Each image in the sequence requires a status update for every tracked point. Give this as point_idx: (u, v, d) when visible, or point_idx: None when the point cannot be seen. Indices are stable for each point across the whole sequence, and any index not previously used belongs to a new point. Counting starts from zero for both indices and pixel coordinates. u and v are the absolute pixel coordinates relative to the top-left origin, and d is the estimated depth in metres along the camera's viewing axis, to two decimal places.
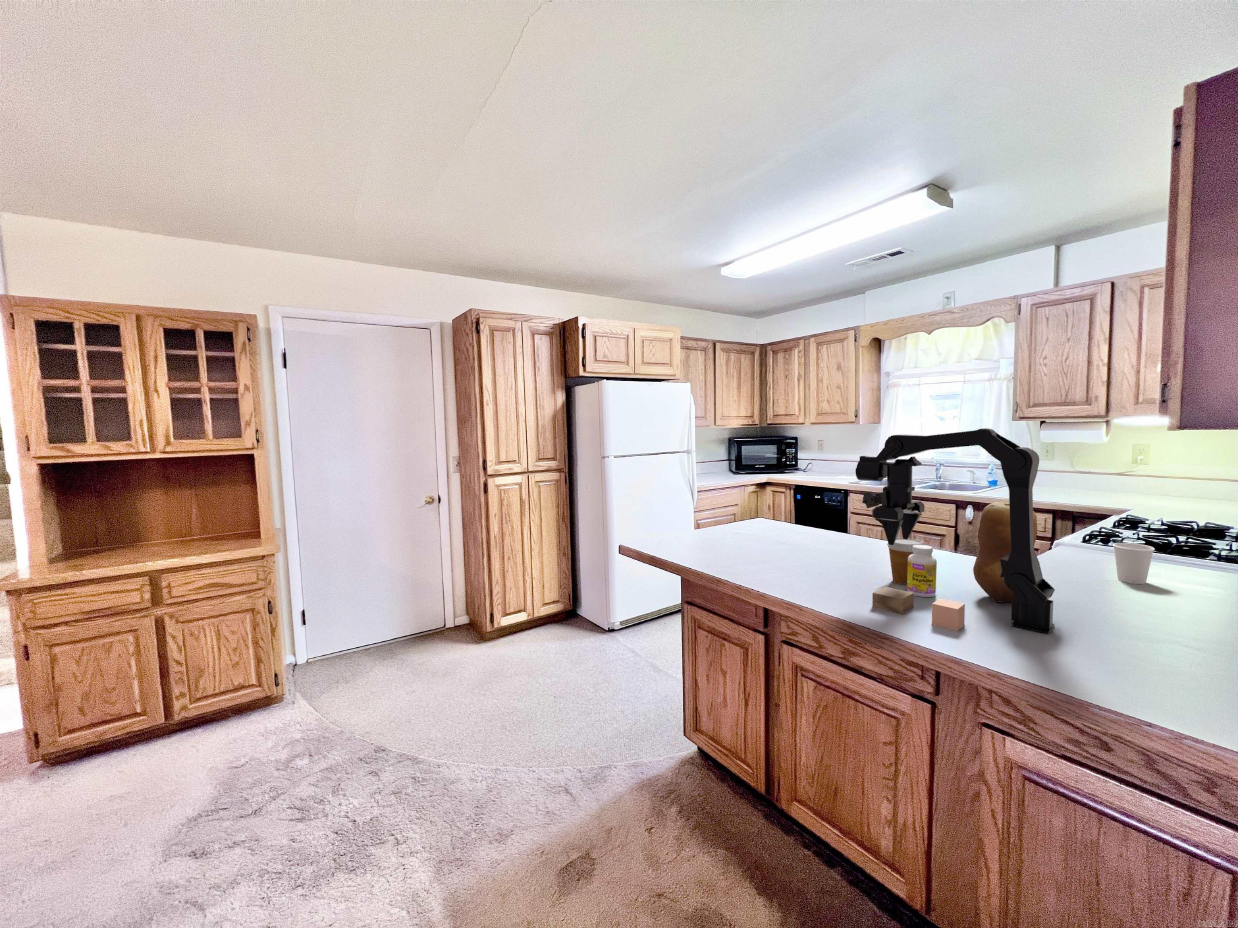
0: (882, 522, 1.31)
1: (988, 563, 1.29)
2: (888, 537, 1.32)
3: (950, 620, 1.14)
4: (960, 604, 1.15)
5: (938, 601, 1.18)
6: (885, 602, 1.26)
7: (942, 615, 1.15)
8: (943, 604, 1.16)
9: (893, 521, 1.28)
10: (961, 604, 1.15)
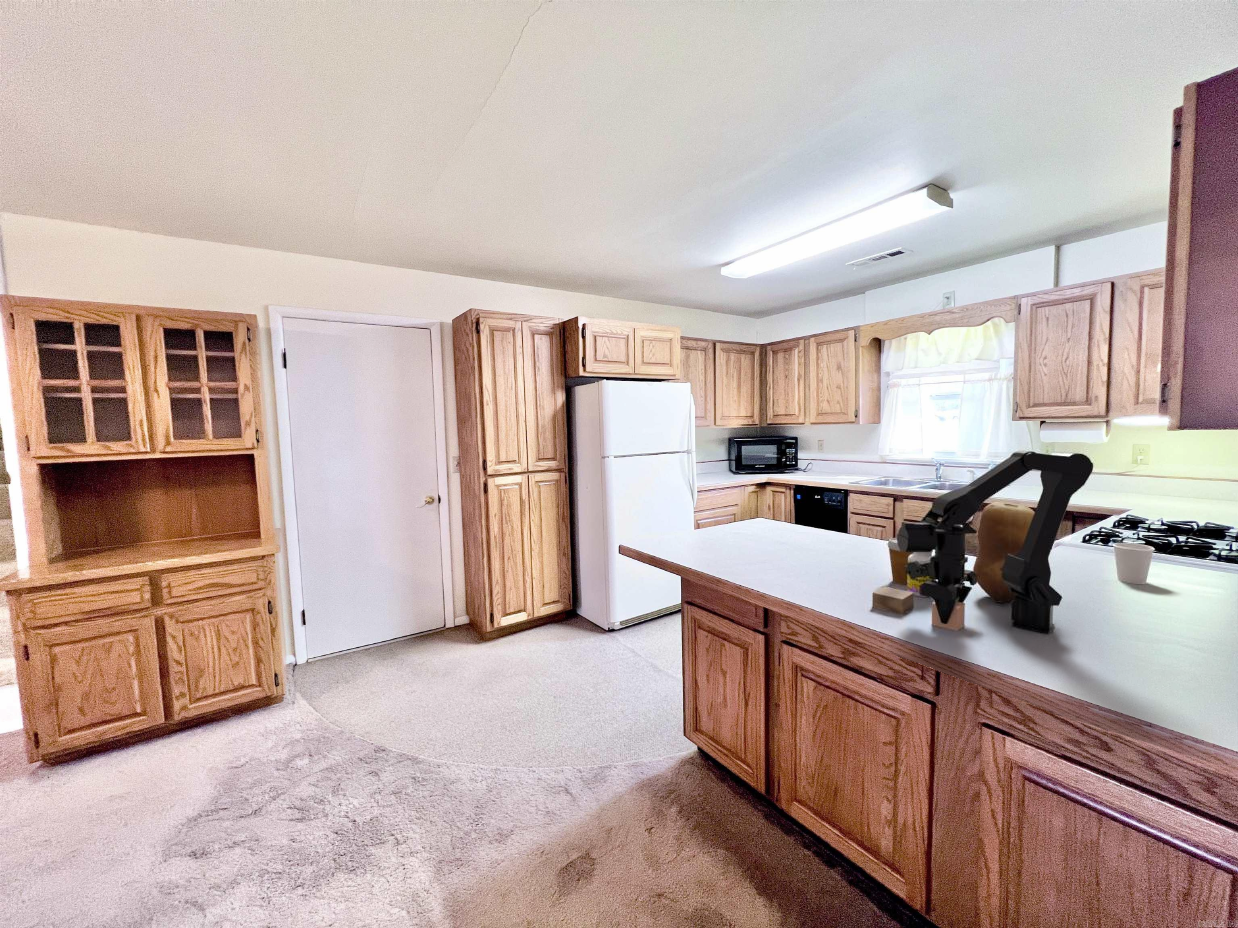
0: (934, 598, 1.14)
1: (988, 563, 1.29)
2: (941, 615, 1.14)
3: (950, 620, 1.14)
4: (960, 604, 1.15)
5: None
6: (885, 602, 1.26)
7: None
8: None
9: None
10: (961, 603, 1.15)
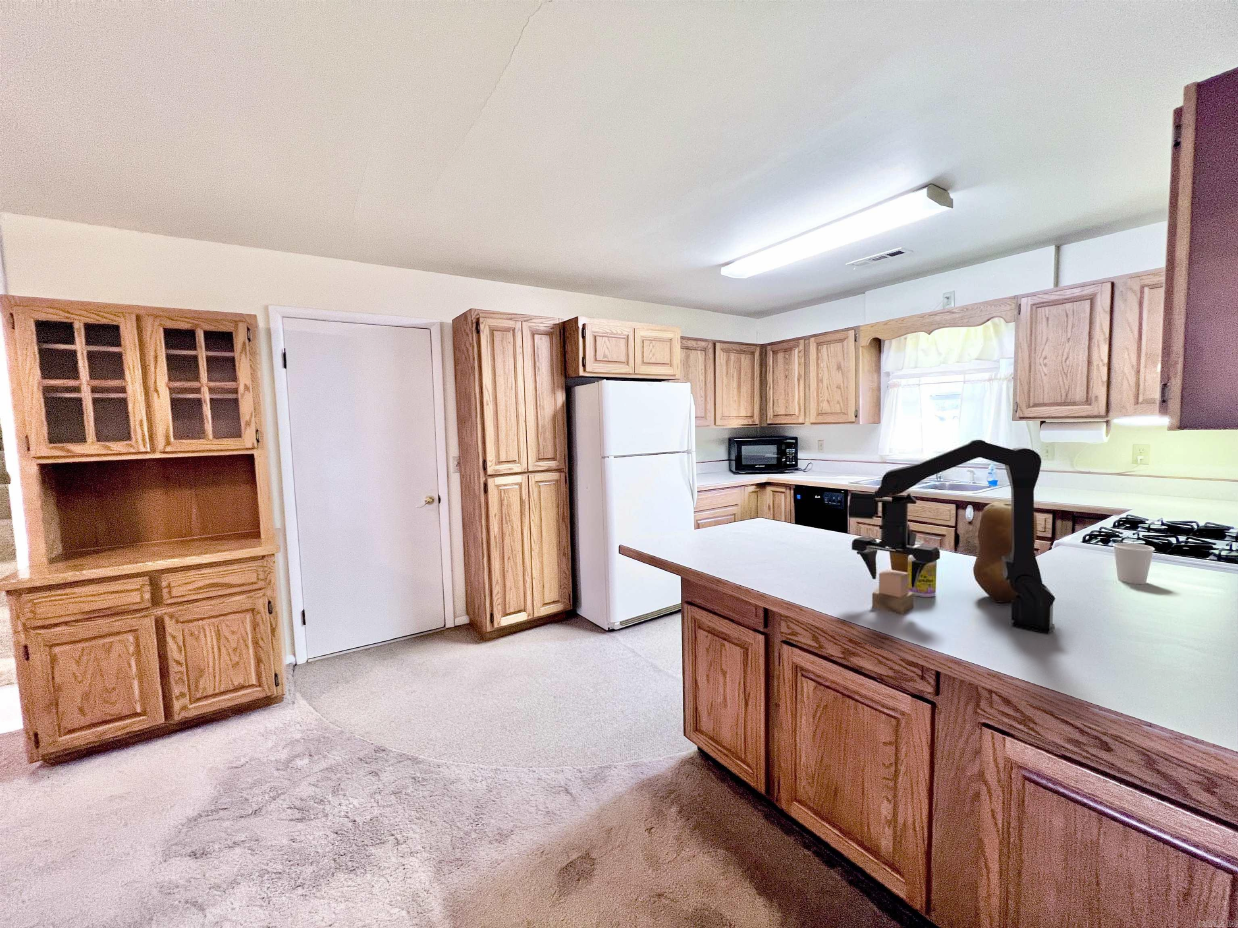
0: None
1: (988, 563, 1.29)
2: None
3: None
4: (896, 575, 1.25)
5: (897, 571, 1.29)
6: (885, 602, 1.26)
7: None
8: (890, 571, 1.29)
9: None
10: (896, 575, 1.25)
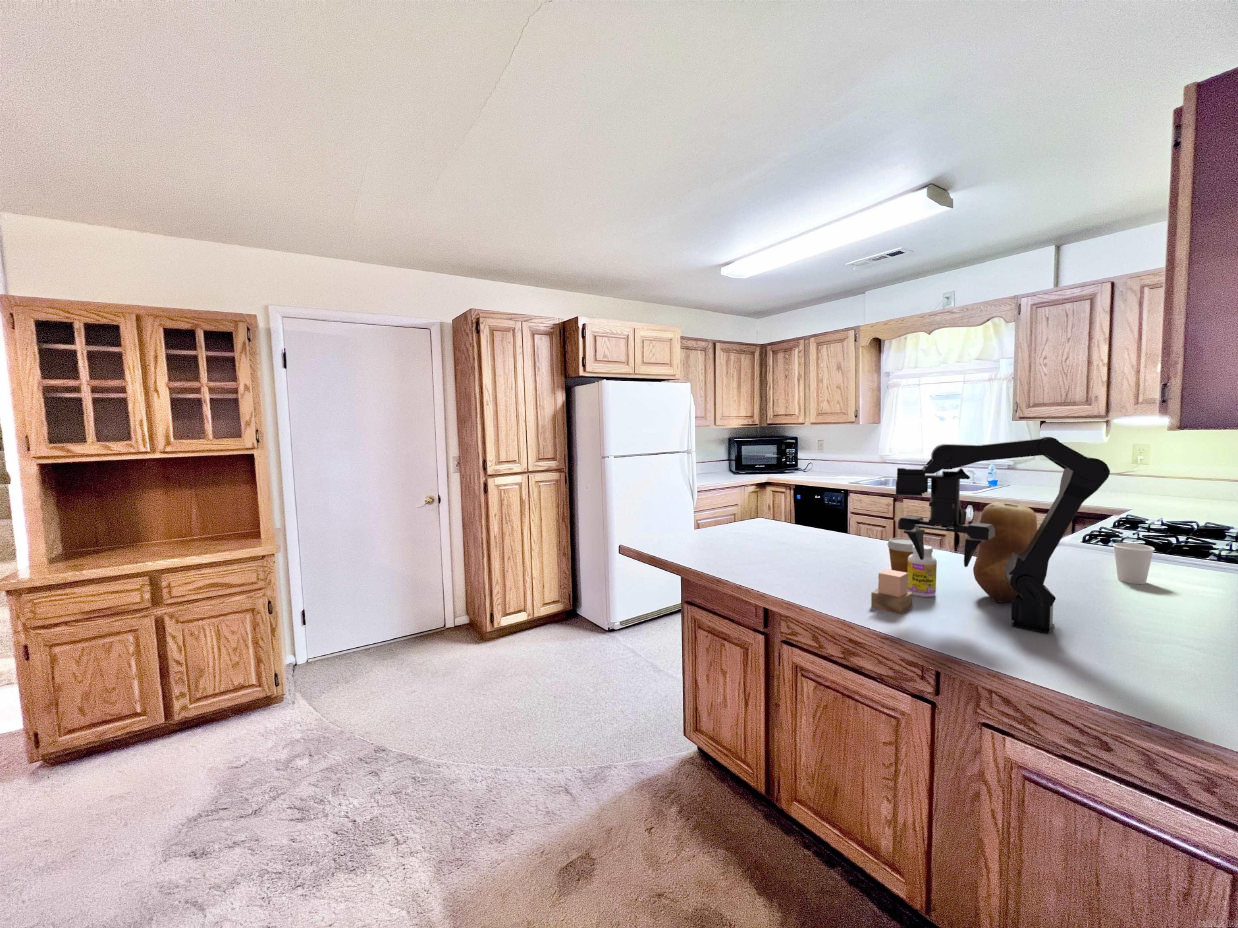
0: None
1: (988, 563, 1.29)
2: None
3: None
4: (895, 575, 1.25)
5: (896, 571, 1.29)
6: (884, 602, 1.26)
7: None
8: (889, 571, 1.29)
9: None
10: (896, 575, 1.25)
